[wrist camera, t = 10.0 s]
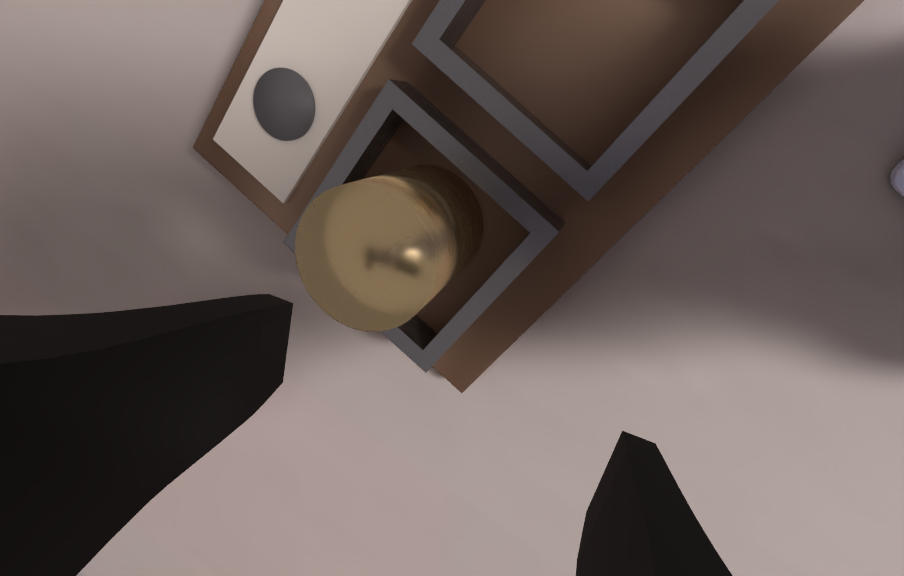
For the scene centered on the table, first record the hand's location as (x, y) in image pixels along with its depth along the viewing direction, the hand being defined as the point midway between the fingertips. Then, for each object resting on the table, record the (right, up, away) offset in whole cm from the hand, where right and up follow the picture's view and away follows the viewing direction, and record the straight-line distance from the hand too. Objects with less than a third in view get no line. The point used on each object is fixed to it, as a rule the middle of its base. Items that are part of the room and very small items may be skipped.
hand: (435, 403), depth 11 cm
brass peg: (-1, +5, +8) cm, 9 cm away
